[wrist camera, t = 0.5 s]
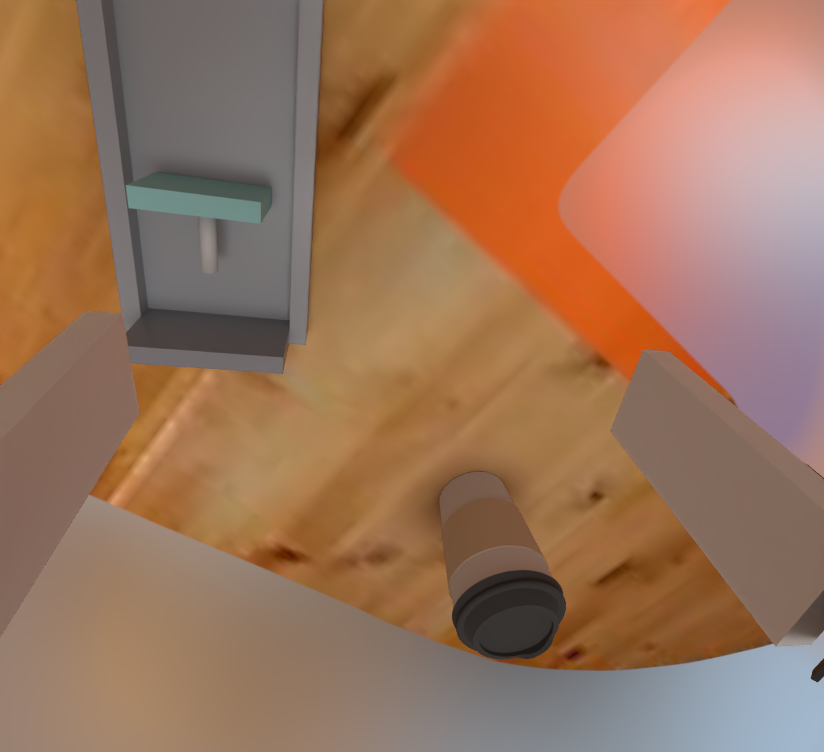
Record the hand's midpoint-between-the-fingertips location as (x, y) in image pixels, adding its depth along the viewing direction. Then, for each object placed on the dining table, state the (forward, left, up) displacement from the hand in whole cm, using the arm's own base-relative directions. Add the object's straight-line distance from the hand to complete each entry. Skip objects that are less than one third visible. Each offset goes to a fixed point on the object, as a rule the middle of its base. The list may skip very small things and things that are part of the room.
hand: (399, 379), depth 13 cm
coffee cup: (+27, +14, -25) cm, 40 cm away
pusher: (+2, -10, -24) cm, 26 cm away
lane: (-2, -10, -25) cm, 27 cm away
